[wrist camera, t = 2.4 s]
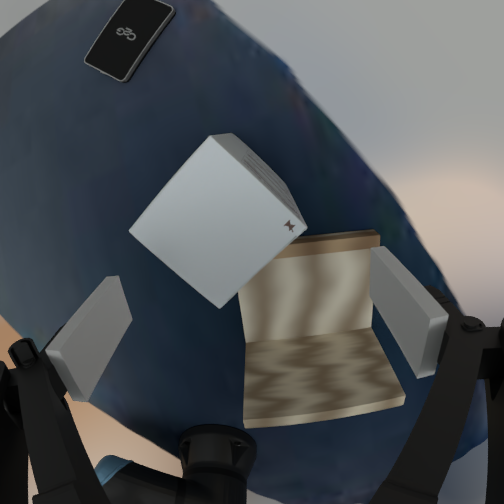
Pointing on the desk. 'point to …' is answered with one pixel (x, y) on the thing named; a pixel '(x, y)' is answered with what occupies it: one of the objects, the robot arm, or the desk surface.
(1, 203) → the desk surface
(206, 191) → the supplement box
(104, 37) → the external hard drive
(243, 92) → the desk surface
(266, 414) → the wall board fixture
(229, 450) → the robot arm
